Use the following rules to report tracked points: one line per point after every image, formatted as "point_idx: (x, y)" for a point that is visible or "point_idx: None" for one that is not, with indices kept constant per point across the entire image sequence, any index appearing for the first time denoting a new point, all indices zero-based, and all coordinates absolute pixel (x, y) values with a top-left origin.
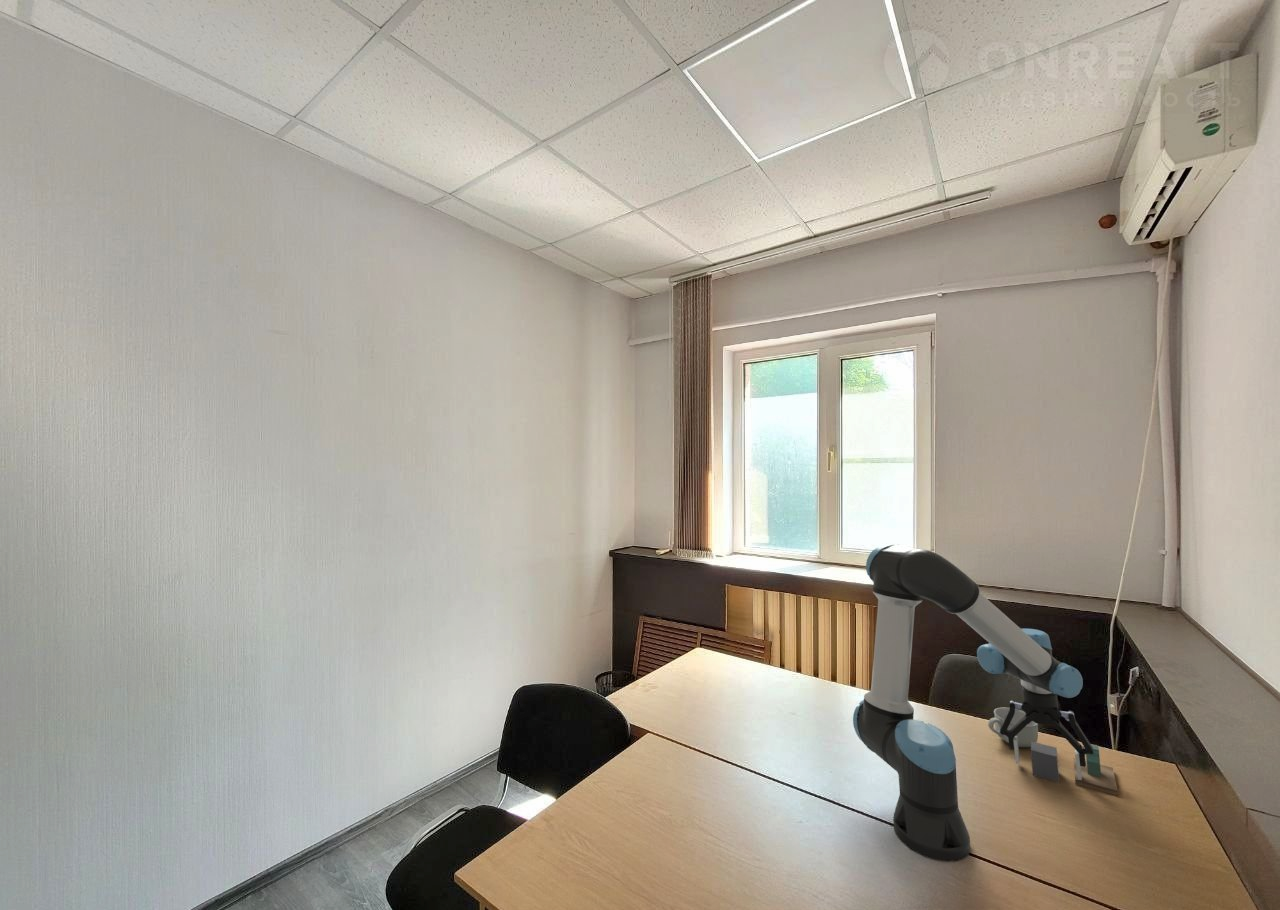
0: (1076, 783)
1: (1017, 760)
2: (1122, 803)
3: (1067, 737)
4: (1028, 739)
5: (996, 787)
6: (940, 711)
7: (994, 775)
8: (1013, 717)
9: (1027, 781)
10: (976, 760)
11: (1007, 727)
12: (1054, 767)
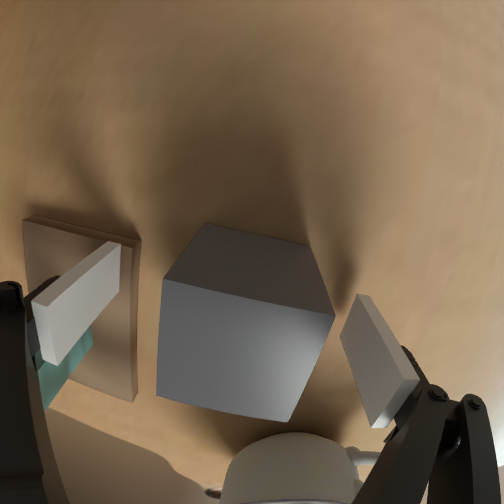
0: (136, 240)
1: (368, 304)
2: (30, 163)
3: (9, 397)
4: (266, 456)
5: (473, 83)
6: None
7: (467, 180)
8: None
9: (350, 173)
10: (486, 282)
11: (470, 440)
12: (203, 250)
